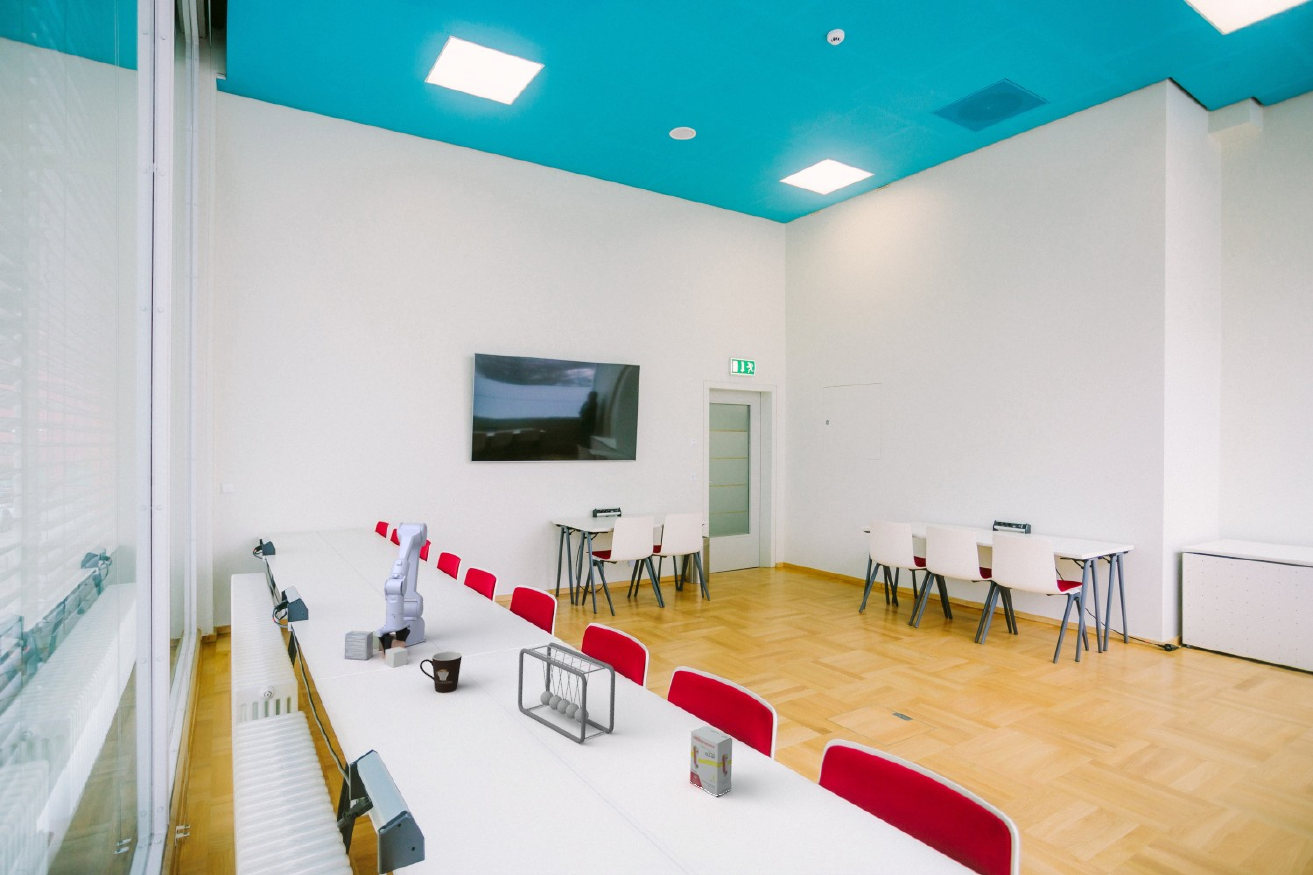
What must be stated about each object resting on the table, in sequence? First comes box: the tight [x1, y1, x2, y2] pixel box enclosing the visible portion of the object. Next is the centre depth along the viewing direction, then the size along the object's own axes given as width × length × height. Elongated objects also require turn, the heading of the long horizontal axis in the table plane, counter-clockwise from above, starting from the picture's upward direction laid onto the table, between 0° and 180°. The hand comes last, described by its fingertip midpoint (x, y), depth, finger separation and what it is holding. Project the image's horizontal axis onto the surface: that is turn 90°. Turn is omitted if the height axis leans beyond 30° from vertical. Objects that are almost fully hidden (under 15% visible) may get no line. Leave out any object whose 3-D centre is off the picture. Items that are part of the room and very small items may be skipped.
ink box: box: [689, 725, 733, 795], centre depth 151 cm, size 9×5×12 cm, turn 42°
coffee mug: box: [419, 651, 463, 694], centre depth 206 cm, size 12×9×10 cm
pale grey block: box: [384, 647, 409, 669], centre depth 227 cm, size 5×5×5 cm
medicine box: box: [344, 630, 374, 661], centre depth 233 cm, size 8×4×9 cm, turn 84°
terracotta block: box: [382, 640, 406, 659], centre depth 235 cm, size 5×5×5 cm
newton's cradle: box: [517, 642, 616, 744], centre depth 184 cm, size 30×10×18 cm, turn 44°
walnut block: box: [378, 633, 396, 652], centre depth 243 cm, size 5×5×5 cm
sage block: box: [372, 630, 379, 650], centre depth 246 cm, size 5×5×5 cm
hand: (393, 652), depth 235 cm, fingers closed on terracotta block, 5 cm apart
